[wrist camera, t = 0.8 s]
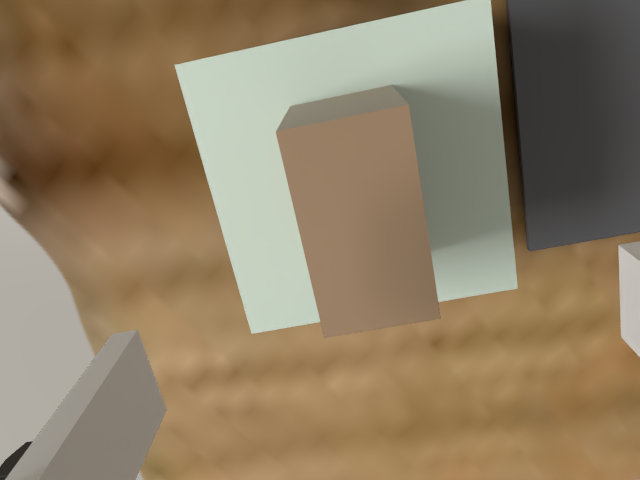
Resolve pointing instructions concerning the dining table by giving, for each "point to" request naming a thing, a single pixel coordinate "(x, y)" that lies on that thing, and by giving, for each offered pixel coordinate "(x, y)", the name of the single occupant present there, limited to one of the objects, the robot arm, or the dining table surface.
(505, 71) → the dining table surface
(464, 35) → the block on square base
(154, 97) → the dining table surface
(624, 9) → the mat
